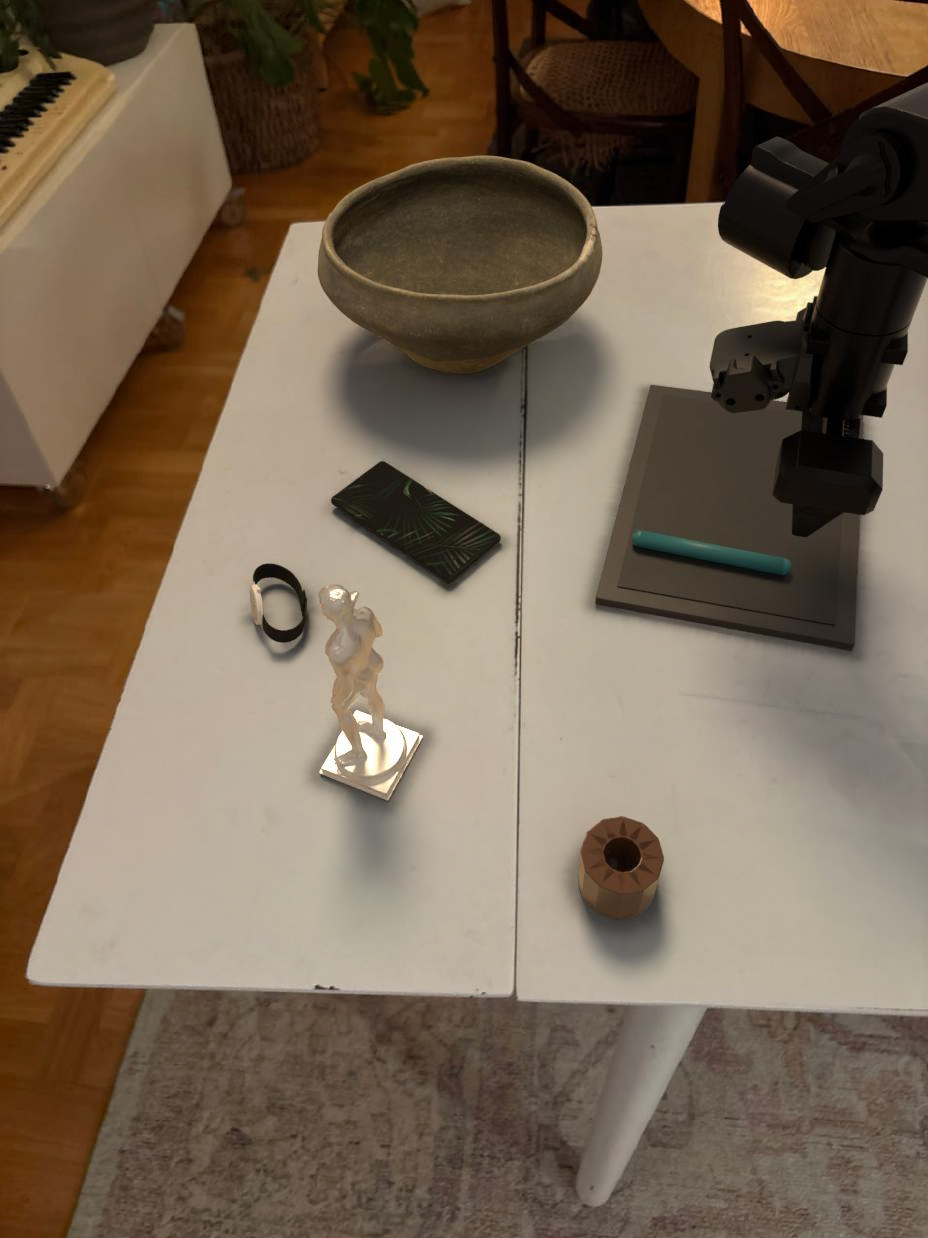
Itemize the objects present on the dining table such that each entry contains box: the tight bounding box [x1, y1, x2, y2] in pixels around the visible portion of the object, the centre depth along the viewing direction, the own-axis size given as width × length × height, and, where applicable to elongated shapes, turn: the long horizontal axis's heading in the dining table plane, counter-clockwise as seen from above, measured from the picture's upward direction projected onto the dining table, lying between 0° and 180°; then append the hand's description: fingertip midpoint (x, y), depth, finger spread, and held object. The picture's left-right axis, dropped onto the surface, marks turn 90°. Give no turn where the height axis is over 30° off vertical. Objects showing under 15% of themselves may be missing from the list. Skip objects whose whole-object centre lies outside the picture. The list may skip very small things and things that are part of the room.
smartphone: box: [330, 460, 502, 585], centre depth 81 cm, size 7×1×15 cm
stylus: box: [632, 530, 792, 575], centre depth 75 cm, size 1×1×13 cm
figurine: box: [317, 583, 424, 802], centre depth 60 cm, size 8×7×18 cm
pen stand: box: [577, 815, 665, 920], centre depth 58 cm, size 5×5×4 cm
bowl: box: [317, 155, 603, 374], centre depth 92 cm, size 28×28×14 cm
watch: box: [249, 562, 308, 644], centre depth 74 cm, size 8×5×4 cm, turn 20°
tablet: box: [594, 384, 864, 652], centre depth 80 cm, size 28×20×1 cm
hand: (803, 490), depth 68 cm, fingers open, 9 cm apart
